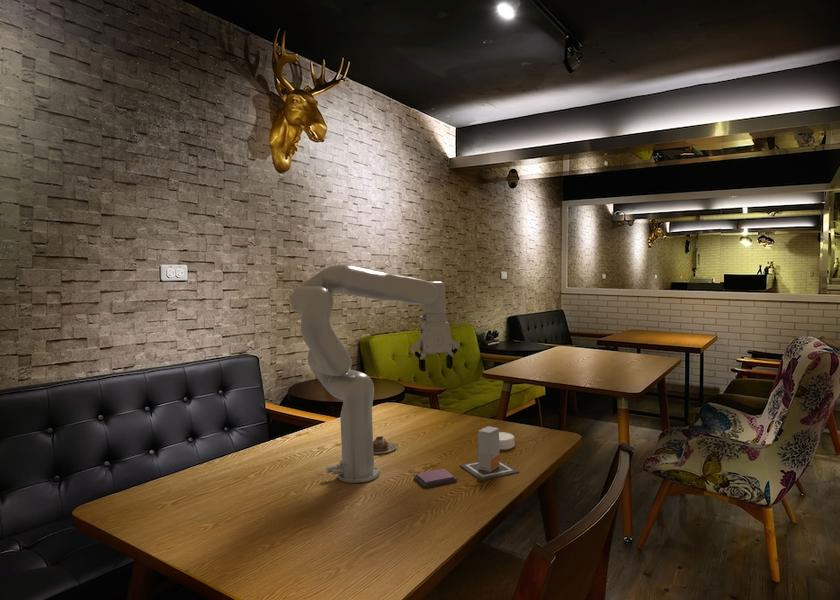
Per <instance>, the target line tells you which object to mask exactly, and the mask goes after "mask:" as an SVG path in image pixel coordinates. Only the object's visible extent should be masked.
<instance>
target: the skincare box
mask: <svg viewBox="0 0 840 600" xmlns="http://www.w3.org/2000/svg"><path fill="white" fill-rule="evenodd" d="M499 432H500V428H499V427H494V426H486V427H483V428H481V429H479V430H478V431H477V454H478V457H477V460H478V461H477V462H478V469H480V470H484V471H488V472H491V471H492V470H494V469H496V468H497V467H499V466H500V461H501V460H500V455H501V454H500V450H499Z"/></svg>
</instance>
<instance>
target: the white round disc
mask: <svg viewBox="0 0 840 600" xmlns="http://www.w3.org/2000/svg"><path fill="white" fill-rule="evenodd" d="M515 442H516V441H515V435H513V434H512V433H510V432H503V431H499V451H503V450H504V451H505V450H510V449H513V448H514V447H515V444H516V443H515Z"/></svg>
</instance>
